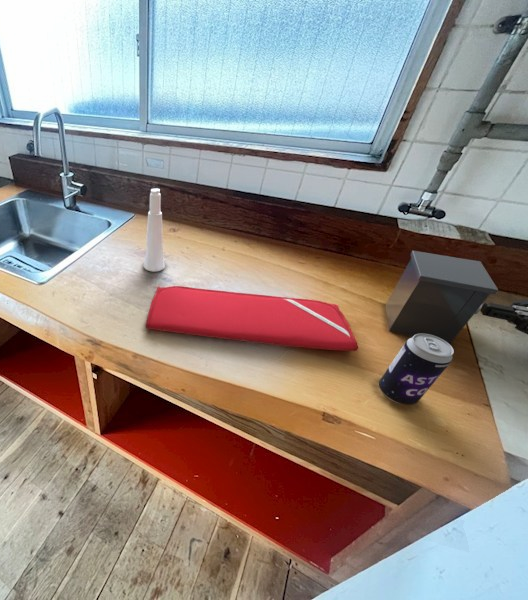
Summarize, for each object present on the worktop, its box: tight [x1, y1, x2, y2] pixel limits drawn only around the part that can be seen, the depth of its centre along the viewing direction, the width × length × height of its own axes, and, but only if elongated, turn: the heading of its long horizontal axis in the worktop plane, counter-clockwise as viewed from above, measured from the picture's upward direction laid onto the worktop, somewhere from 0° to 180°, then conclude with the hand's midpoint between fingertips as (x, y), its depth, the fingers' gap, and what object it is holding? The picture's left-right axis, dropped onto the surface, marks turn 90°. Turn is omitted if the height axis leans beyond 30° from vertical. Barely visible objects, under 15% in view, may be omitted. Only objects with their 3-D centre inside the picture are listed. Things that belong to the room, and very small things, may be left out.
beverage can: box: [378, 333, 455, 406], centre depth 52 cm, size 6×6×12 cm
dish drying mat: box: [145, 285, 359, 352], centre depth 71 cm, size 16×41×4 cm, turn 76°
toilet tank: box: [384, 250, 499, 345], centre depth 65 cm, size 11×11×14 cm
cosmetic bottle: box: [143, 188, 166, 272], centre depth 86 cm, size 6×6×22 cm
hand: (483, 308), depth 62 cm, fingers closed
